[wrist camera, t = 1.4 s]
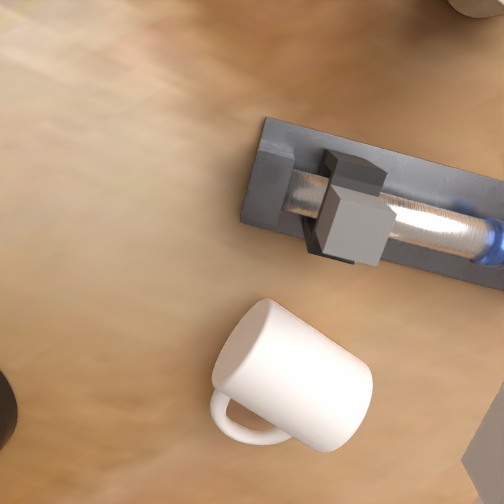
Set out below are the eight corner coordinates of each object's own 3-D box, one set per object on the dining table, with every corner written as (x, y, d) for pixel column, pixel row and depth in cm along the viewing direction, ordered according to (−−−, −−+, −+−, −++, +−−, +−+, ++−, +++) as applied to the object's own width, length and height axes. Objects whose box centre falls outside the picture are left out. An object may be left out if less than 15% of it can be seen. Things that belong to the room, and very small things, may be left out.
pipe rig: (240, 219, 33) (234, 241, 28) (266, 116, 30) (265, 119, 25) (529, 294, 34) (576, 330, 29) (579, 202, 31) (642, 222, 26)
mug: (271, 281, 35) (270, 331, 27) (362, 344, 37) (385, 407, 29) (192, 376, 38) (173, 443, 31) (278, 429, 40) (280, 505, 33)
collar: (301, 226, 32) (314, 278, 23) (325, 148, 30) (350, 170, 21) (339, 235, 32) (366, 291, 23) (366, 159, 30) (408, 185, 21)
